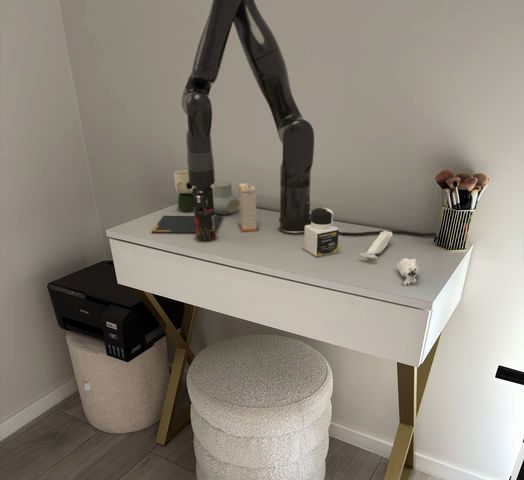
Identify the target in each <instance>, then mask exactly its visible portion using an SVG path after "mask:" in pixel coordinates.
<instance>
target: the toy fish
mask: <svg viewBox="0 0 524 480" xmlns="http://www.w3.org/2000/svg"><path fill="white" fill-rule="evenodd" d="M382 231H383V232H381V233H380V234H378V236H377V237H376V238H375V240H374V241H373V242H372V244H371V245H370V247H369V248H368V249H367V250H366V251H365V252H361V253H357V256H360V257H364V258H368V259H378V257H377V255H380V254H381V253H382V252H383V251H384V250H385V248H386V247H387V246H388V244H389V242H390V240H391V238H392V237H393V234H394V233H392V232H389V230H382Z"/></svg>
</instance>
